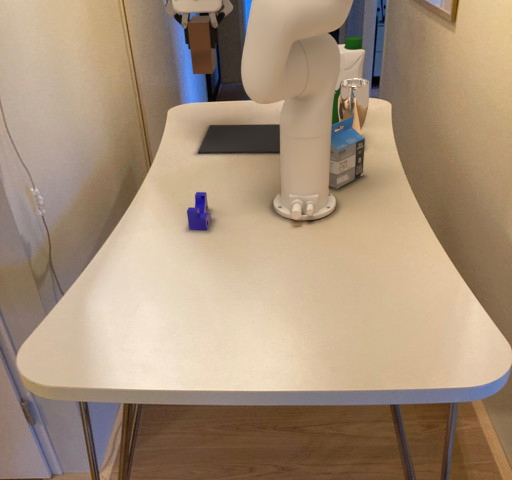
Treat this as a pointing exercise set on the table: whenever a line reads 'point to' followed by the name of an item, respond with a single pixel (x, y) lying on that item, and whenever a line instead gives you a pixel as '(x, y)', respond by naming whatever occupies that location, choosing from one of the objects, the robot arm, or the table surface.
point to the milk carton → (348, 67)
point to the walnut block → (201, 45)
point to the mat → (241, 139)
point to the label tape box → (345, 154)
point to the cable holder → (199, 213)
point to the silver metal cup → (353, 101)
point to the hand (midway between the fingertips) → (202, 46)
